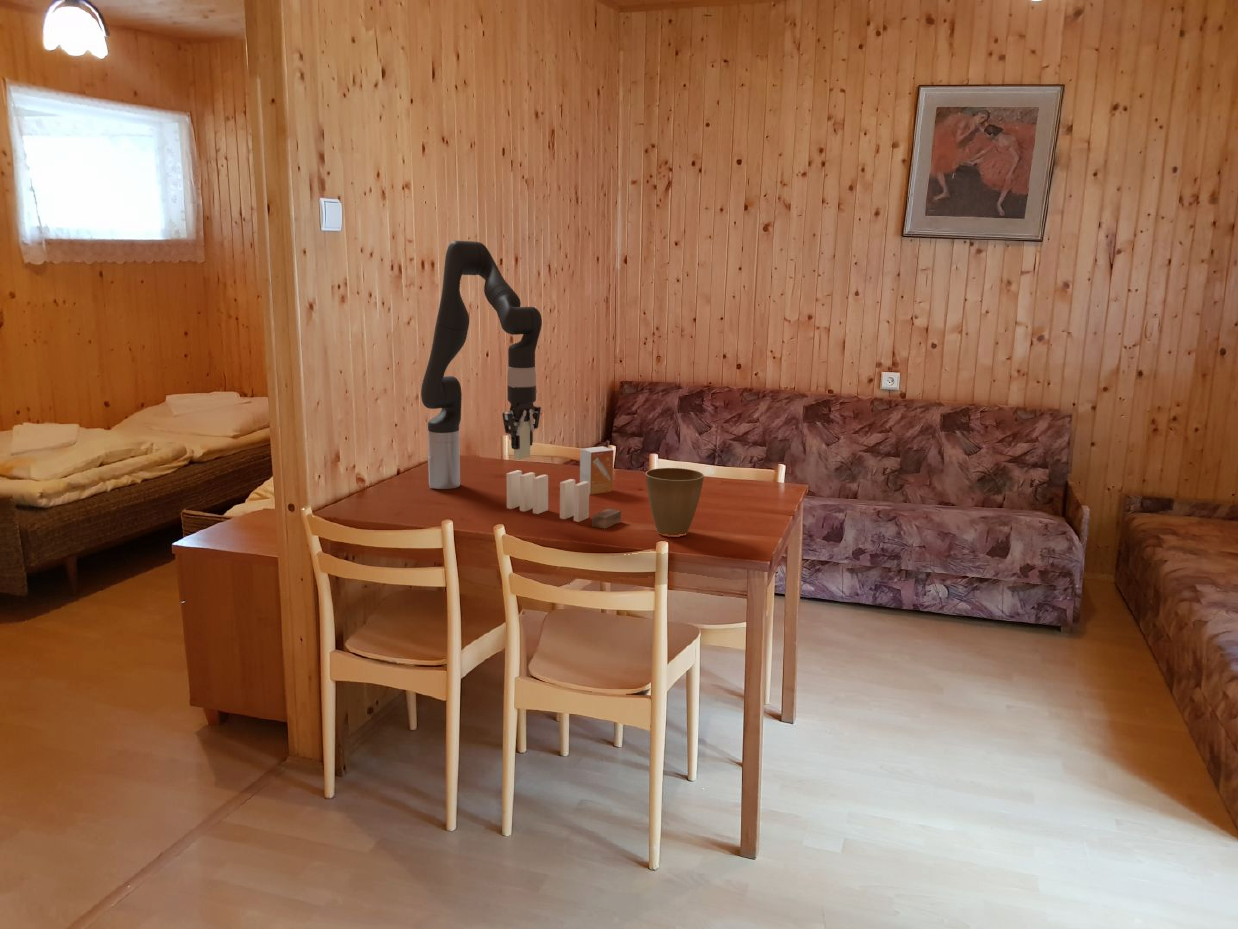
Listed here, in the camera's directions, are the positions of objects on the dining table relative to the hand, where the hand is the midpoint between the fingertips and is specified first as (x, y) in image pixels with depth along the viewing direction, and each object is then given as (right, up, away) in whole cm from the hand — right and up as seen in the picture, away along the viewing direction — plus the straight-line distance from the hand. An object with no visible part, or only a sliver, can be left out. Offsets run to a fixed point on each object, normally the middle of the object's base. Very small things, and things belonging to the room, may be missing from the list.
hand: (522, 447), depth 258 cm
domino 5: (+12, -19, +6) cm, 23 cm away
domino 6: (+16, -19, +4) cm, 25 cm away
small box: (+19, -13, +34) cm, 41 cm away
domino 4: (+4, -18, +11) cm, 21 cm away
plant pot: (+40, -23, -7) cm, 46 cm away
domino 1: (-4, -17, +15) cm, 23 cm away
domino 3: (0, -17, +13) cm, 21 cm away
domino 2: (0, -3, +1) cm, 3 cm away
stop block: (+22, -21, 0) cm, 30 cm away
